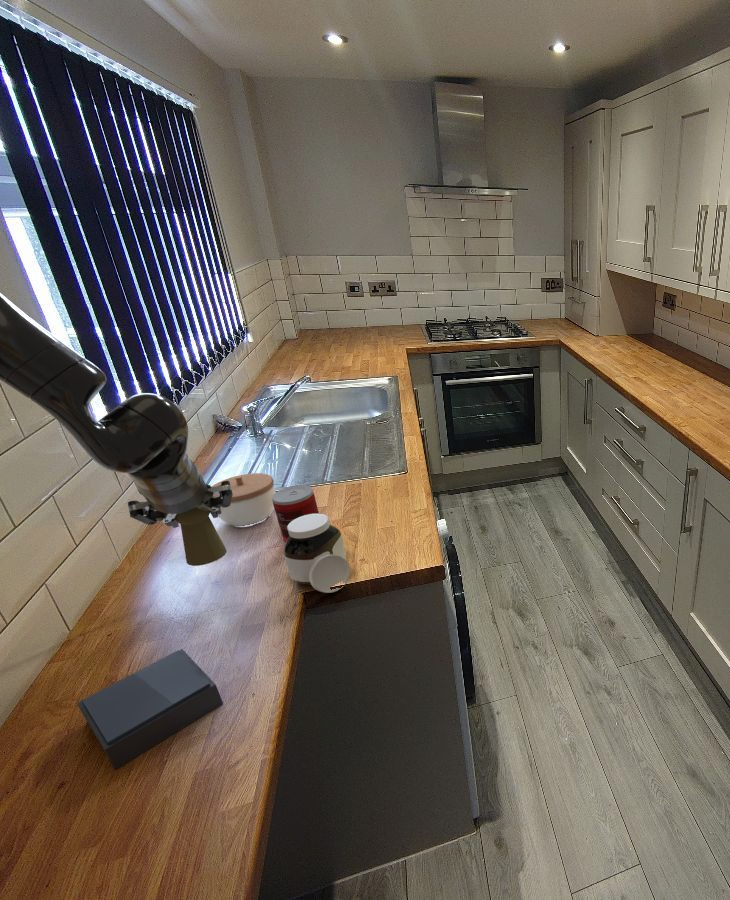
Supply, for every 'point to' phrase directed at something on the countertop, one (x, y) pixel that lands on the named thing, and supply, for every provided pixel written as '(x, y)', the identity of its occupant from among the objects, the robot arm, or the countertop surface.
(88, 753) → the countertop surface
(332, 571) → the spread jar
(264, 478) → the lidded bowl
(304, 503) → the canned food
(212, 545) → the cork
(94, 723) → the rectangular box
